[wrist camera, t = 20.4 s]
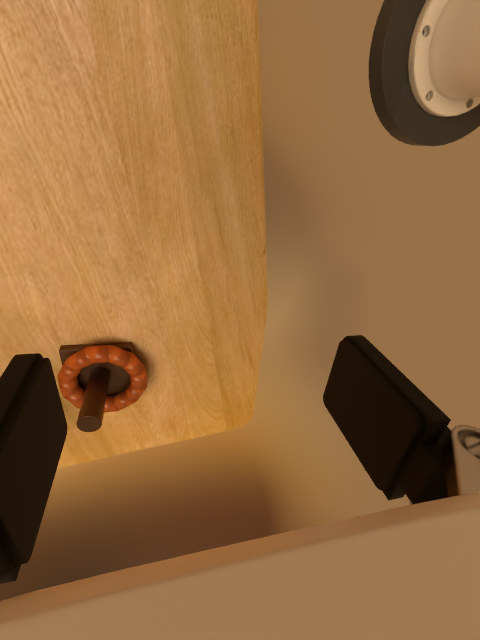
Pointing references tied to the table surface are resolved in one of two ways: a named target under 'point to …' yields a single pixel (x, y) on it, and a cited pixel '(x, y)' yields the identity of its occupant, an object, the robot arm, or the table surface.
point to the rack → (97, 385)
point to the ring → (103, 355)
